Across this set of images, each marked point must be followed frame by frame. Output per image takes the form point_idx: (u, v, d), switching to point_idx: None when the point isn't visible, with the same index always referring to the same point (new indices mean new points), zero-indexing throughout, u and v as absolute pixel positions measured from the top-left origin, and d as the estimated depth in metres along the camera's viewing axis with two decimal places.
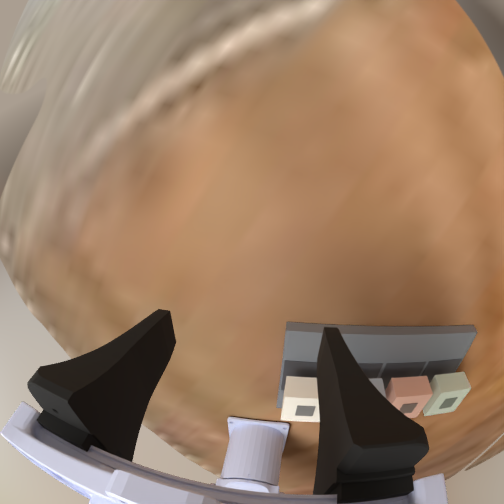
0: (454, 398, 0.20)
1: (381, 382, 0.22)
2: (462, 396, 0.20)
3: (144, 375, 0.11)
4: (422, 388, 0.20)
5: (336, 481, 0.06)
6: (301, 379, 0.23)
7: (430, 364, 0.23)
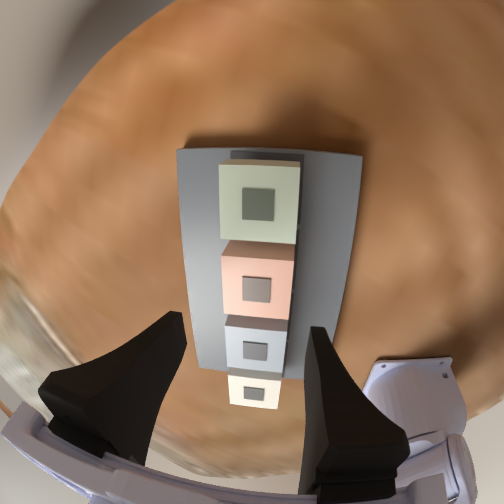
0: (244, 196, 0.14)
1: None
2: (243, 173, 0.14)
3: (157, 378, 0.10)
4: None
5: (315, 481, 0.06)
6: None
7: None
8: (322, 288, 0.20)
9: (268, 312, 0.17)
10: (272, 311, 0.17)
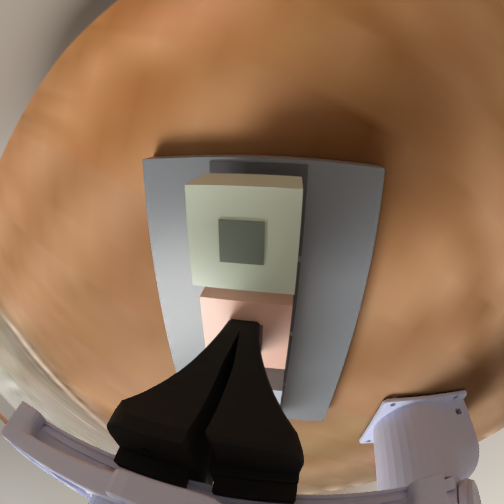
0: (221, 229, 0.10)
1: None
2: (220, 198, 0.10)
3: None
4: None
5: (208, 470, 0.06)
6: None
7: None
8: (327, 330, 0.16)
9: None
10: (265, 360, 0.13)
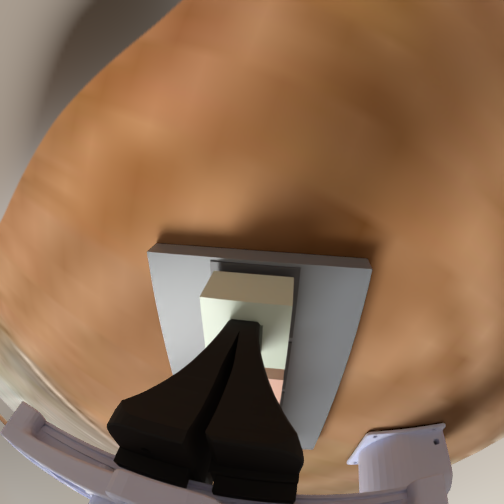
0: None
1: None
2: (228, 308, 0.12)
3: None
4: None
5: (208, 470, 0.06)
6: None
7: None
8: (314, 388, 0.18)
9: None
10: None
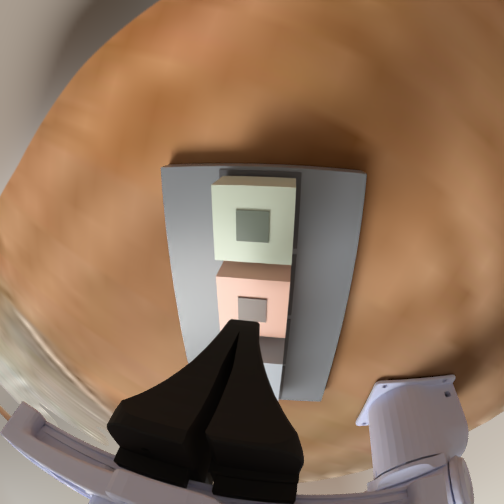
0: (238, 217, 0.14)
1: None
2: (237, 194, 0.13)
3: None
4: None
5: (208, 470, 0.06)
6: None
7: None
8: (321, 314, 0.19)
9: (264, 331, 0.17)
10: (268, 330, 0.17)
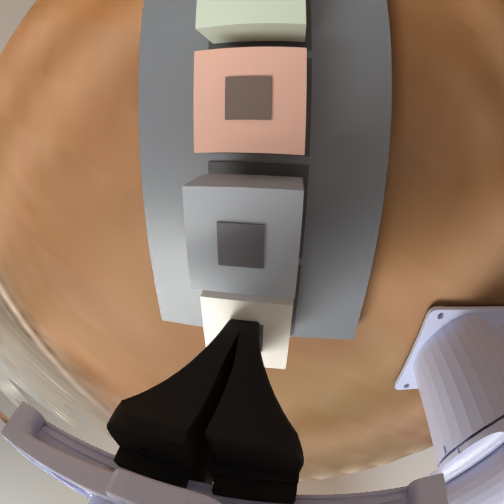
0: None
1: None
2: None
3: None
4: None
5: (208, 470, 0.06)
6: None
7: (218, 44, 0.10)
8: (354, 156, 0.12)
9: (269, 141, 0.09)
10: (276, 138, 0.09)
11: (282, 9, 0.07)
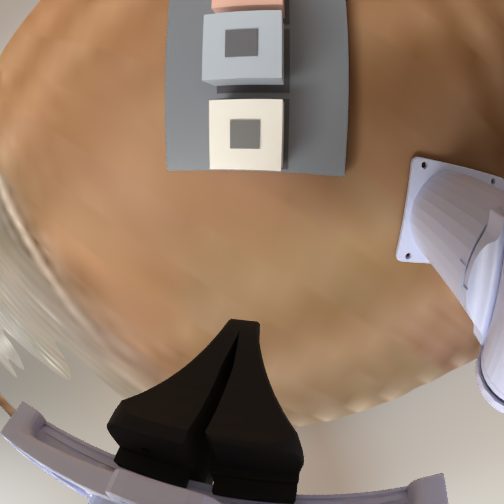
0: None
1: None
2: None
3: None
4: None
5: (208, 470, 0.06)
6: None
7: None
8: (322, 24, 0.13)
9: None
10: None
11: None
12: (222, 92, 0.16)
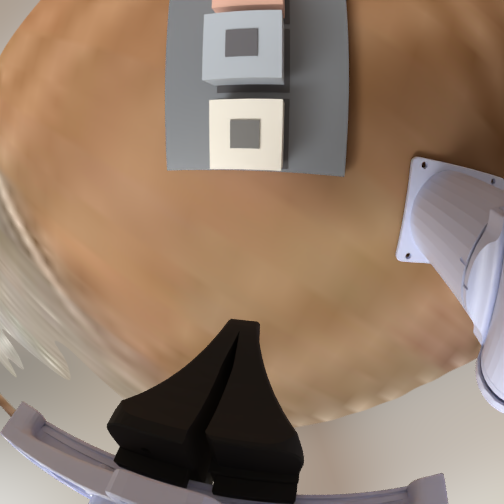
0: None
1: None
2: None
3: None
4: None
5: (208, 470, 0.06)
6: None
7: None
8: (322, 24, 0.13)
9: None
10: None
11: None
12: (222, 92, 0.16)
